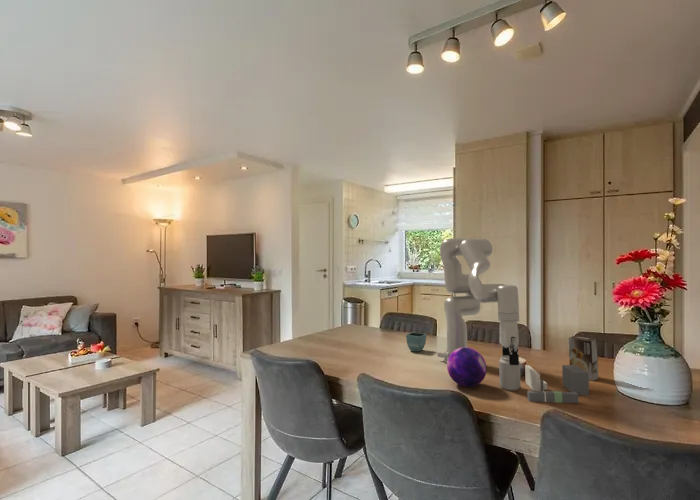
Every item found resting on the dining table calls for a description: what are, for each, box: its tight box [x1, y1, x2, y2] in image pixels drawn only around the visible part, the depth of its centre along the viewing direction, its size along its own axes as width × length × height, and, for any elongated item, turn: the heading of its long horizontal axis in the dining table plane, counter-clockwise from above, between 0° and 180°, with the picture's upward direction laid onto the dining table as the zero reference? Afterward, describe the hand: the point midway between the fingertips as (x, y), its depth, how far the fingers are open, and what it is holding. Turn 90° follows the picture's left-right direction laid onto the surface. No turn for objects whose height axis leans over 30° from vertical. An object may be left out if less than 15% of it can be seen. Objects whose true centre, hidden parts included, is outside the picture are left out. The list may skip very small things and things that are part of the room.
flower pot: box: [405, 331, 427, 352], centre depth 203 cm, size 9×9×9 cm
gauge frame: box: [526, 364, 590, 404], centre depth 137 cm, size 23×18×8 cm
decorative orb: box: [446, 346, 487, 388], centre depth 147 cm, size 15×15×15 cm
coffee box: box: [568, 335, 599, 381], centre depth 155 cm, size 9×6×16 cm
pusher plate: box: [524, 364, 548, 391], centre depth 140 cm, size 6×16×7 cm, turn 172°
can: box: [498, 355, 521, 392], centre depth 143 cm, size 8×8×12 cm
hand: (510, 361), depth 143 cm, fingers open, 9 cm apart
